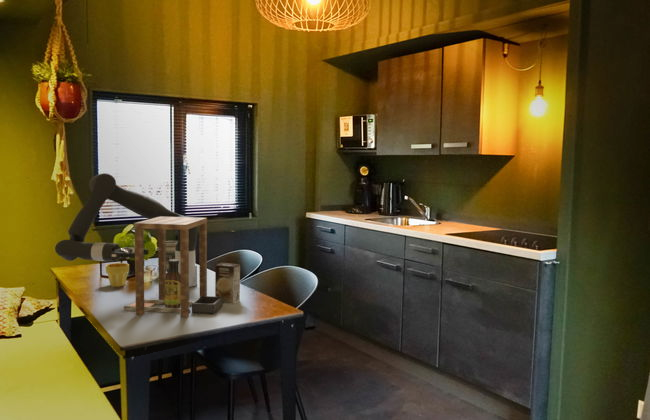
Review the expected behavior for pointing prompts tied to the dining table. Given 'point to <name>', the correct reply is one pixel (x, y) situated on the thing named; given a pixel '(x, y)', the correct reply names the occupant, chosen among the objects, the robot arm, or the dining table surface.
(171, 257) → the apothecary jar
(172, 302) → the sauce bottle
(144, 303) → the pad
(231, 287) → the coffee box
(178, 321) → the dining table surface
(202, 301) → the box
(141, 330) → the dining table surface
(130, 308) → the frame
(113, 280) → the plant pot
